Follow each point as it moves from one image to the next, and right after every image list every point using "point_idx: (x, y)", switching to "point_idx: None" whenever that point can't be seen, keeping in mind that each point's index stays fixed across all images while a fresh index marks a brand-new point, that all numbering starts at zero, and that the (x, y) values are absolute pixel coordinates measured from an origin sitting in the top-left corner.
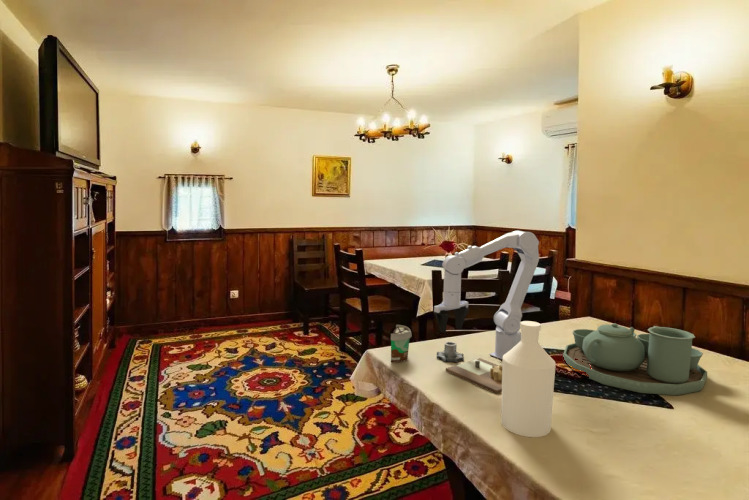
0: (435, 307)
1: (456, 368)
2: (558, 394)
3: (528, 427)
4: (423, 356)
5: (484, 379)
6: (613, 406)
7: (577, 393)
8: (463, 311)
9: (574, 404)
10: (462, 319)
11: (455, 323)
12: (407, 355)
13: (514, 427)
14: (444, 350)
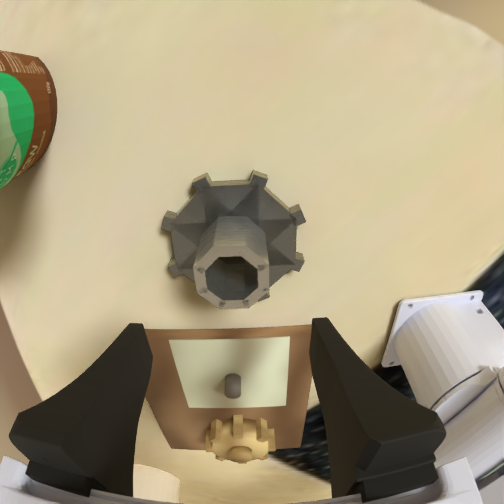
0: (2, 497)
1: (155, 355)
2: (282, 469)
3: None
4: (123, 157)
5: (184, 421)
6: (309, 490)
7: (314, 472)
8: (335, 494)
9: (268, 483)
10: (326, 427)
11: (320, 338)
12: (32, 162)
13: None
14: (198, 248)
